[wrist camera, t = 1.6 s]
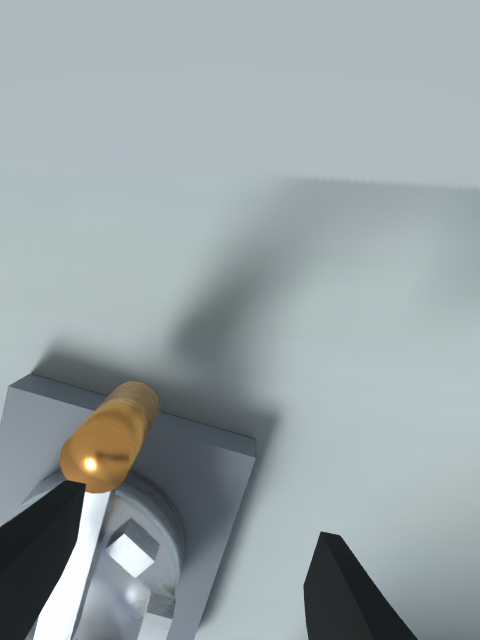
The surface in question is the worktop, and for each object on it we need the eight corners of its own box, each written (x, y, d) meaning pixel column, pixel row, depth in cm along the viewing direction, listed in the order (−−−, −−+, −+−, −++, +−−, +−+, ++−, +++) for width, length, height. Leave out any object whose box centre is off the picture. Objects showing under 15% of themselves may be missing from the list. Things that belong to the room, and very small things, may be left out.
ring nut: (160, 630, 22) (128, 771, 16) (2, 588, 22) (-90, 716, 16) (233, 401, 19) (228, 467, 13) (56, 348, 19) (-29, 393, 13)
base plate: (255, 439, 22) (255, 457, 20) (188, 636, 25) (183, 670, 23) (30, 373, 22) (8, 386, 20) (-16, 582, 24) (-39, 612, 22)
